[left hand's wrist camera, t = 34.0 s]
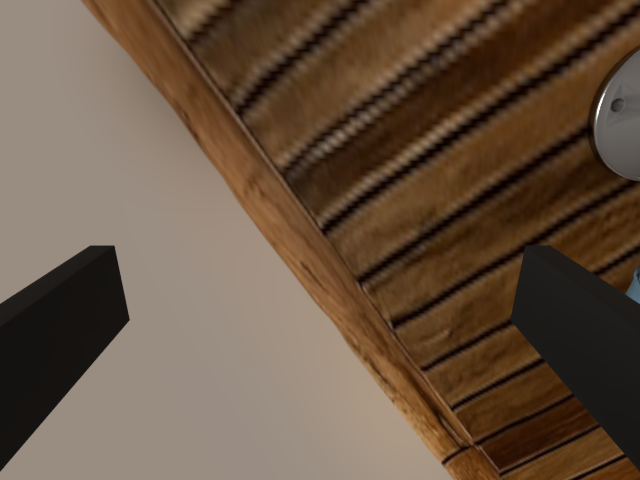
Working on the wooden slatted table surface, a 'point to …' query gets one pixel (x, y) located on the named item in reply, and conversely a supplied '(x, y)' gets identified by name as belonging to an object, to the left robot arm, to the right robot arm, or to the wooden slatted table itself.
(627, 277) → the wooden slatted table surface
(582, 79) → the wooden slatted table surface
